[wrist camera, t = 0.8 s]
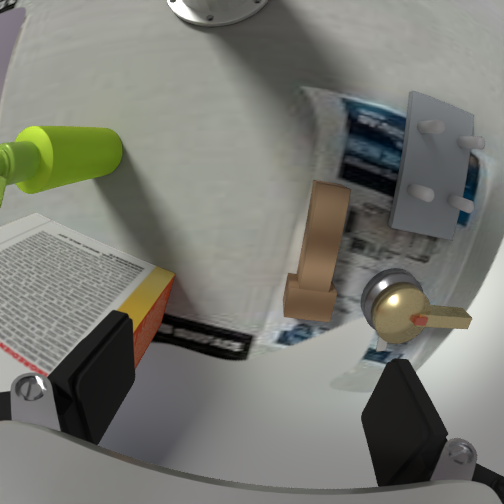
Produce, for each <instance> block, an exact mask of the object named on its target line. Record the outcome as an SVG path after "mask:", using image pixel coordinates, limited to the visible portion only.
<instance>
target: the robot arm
mask: <svg viewBox="0 0 504 504" xmlns="http://www.w3.org/2000/svg"><path fill="white" fill-rule="evenodd" d="M166 1H167V4H168V6H169V7H170V9H171V10H172V11H173V12H174V13H175V14H176V15H177V16H178V17H179V18H181V19H182V20H184V21H186V22H189V23H191V24H195V25H200V26H210V27H215V26H225V25H229V24H234V23H237V22H239V21H242V20H245V19H247V18H249V17H250V16H252V15H254V14H255V13H257V12H258V11H259V10H261V9H262V8H263V7H264V6H265V4H266V3H267V2H268V1H269V0H166ZM257 2H258V4H256V3H257ZM211 19H213V20H212V21H210V20H211ZM134 380H135V362H134V340H133V320H132V319H131V318H129V315H128V314H127V313H124V312H120V311H117V310H112V311H111V312H110V313H109V314H108V315H107V316H106V317H105V318H104V319H103V320H102V321H101V322H100V323H99V324H98V325H97V326H96V327H95V328H94V329H93V330H92V331H91V332H90V333H89V334H88V335H87V336H86V337H85V338H84V339H82V340H81V341H80V342H79V343H78V344H77V345H76V347H75V348H74V349H73V350H72V351H71V352H70V353H69V354H68V355H67V356H66V357H65V358H64V359H63V360H62V361H61V362H60V363H59V365H58V366H57V367H56V368H55V369H54V370H53V371H52V372H51V373H50V374H49V375H48V377H45V376H44V375H42V374H39V373H25V374H22V375H20V376H18V377H17V378H16V379H14V381H13V382H12V384H11V389H10V391H6V392H0V504H504V477H503V476H501V475H499V474H497V473H495V472H493V471H491V470H489V469H487V468H485V467H483V466H481V465H479V464H477V463H476V461H477V452H476V450H475V448H474V447H473V445H472V444H470V443H469V442H468V441H466V440H464V439H461V438H454V439H450V440H449V441H447V439H446V436H447V435H448V432H447V430H446V428H445V426H444V424H443V422H442V420H441V418H440V416H439V414H438V412H437V411H436V409H435V407H434V405H433V403H432V401H431V399H430V397H429V396H428V394H427V392H426V390H425V388H424V387H423V385H422V383H421V381H420V380H419V378H418V376H417V374H416V372H415V370H414V369H413V367H412V365H411V363H410V362H409V360H407V359H396V358H394V359H392V360H391V362H388V363H387V364H386V366H385V368H384V370H383V373H382V375H381V377H380V379H379V381H378V383H377V385H376V387H375V389H374V391H373V393H372V395H371V397H370V399H369V401H368V403H367V405H366V407H365V408H364V410H363V412H362V416H361V420H362V424H363V428H364V432H365V436H366V439H367V443H368V447H369V451H370V455H371V459H372V463H373V467H374V471H375V475H376V480H377V484H378V486H379V487H372V488H354V489H303V488H285V487H272V486H262V485H253V484H245V483H238V482H232V481H225V480H220V479H214V478H208V477H204V476H199V475H194V474H189V473H185V472H181V471H177V470H173V469H169V468H165V467H162V466H158V465H155V464H151V463H148V462H144V461H141V460H138V459H135V458H132V457H129V456H126V455H122V454H120V453H117V452H114V451H111V450H108V449H106V448H103V447H100V446H98V444H99V442H100V440H101V439H102V437H103V435H104V433H105V432H106V430H107V428H108V426H109V425H110V423H111V421H112V419H113V418H114V416H115V414H116V412H117V411H118V409H119V407H120V405H121V404H122V402H123V400H124V398H125V397H126V395H127V393H128V392H129V390H130V388H131V387H132V385H133V383H134Z"/></svg>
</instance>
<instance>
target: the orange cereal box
mask: <svg viewBox="0 0 504 504" xmlns="http://www.w3.org/2000/svg"><path fill="white" fill-rule="evenodd" d="M174 277H175V273H172V272H170V271H167V270H165V269H162V268H160V267H158V266H155V265H153V264H150V263H148V262H145V261H143V260H141V259H138V258H136V257H134V256H131V255H129V254H126V253H124V252H122V251H119V250H117V249H115V248H112V247H110V246H108V245H106V244H103V243H101V242H99V241H96V240H94V239H92V238H90V237H87V236H85V235H83V234H81V233H78V232H76V231H74V230H72V229H70V228H67V227H65V226H63V225H61V224H59V223H57V222H54V221H52V220H50V219H48V218H46V217H44V216H42V215H40V214H38V213H33V214H31V215H28V216H26V217H23V218H20V219H18V220H15V221H13V222H10V223H8V224H6V225H3V226H1V227H0V392H6V391H10V389H11V384H12V382H13V381H14V379H16V378H17V377H18V376H20V375H22V374H25V373H39V374H42V375H44V376H45V377H48V375H49V374H50V373H51V372H52V371H53V370H54V369H55V368H56V367H57V366H58V365H59V363H60V362H61V361H62V360H63V359H64V358H65V357H66V356H67V355H68V354H69V353H70V352H71V351H72V350H73V349H74V348H75V347H76V345H77V344H78V343H79V342H80V341H81V340H82V339H84V338H85V337H86V336H87V335H88V334H89V333H90V332H91V331H92V330H93V329H94V328H95V327H96V326H97V325H98V324H99V323H100V322H101V321H102V320H103V319H104V318H105V317H106V316H107V315H108V314H109V313H110V312H111V311H112V310H117V311H120V312H124V313H127V314H128V315H129V318H131V319H132V320H133V340H134V362H135V368H136V367H137V365H138V363H139V362H140V360H141V358H142V356H143V355H144V353H145V351H146V349H147V348H148V346H149V344H150V342H151V341H152V339H153V337H154V336H155V334H156V332H157V331H158V329H159V327H160V325H161V323H162V319H163V315H164V312H165V308H166V304H167V301H168V297H169V294H170V290H171V287H172V283H173V280H174Z"/></svg>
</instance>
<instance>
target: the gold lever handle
mask: <svg viewBox="0 0 504 504" xmlns="http://www.w3.org/2000/svg"><path fill="white" fill-rule="evenodd" d="M371 320H372V323H373V325H374V327H375V329H376V331H377V333H378V334H379V336H380V337H381V338H382V339H383V340H384V341H386V342H388V343H392V344H399V343H404V342H407V341H409V340H411V339H413V338H414V337H416V336H417V335H418V334H419V333H420V332H421V331H422V330H423V329H424V328H425V327H436V328H456V329H468V327H469V325H470V322H471V320H472V317H471V316H470V315H469V314H468V313H467V312H466V311H465V310H464V309H463V308H458V307H447V306H436V305H430V303H429V300H428V298H427V297H426V296H425V295H424V294H423V293H422V292H421V290H420V289H419V288H418V287H417V286H416V285H414V284H412V283H410V282H396V283H393V284H391V285H389V286H387V287H386V288H384V289H383V290H382V291H381V292H380V293H379V294H378V295H377V297H376V298H375V300H374V302H373V304H372V307H371Z"/></svg>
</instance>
